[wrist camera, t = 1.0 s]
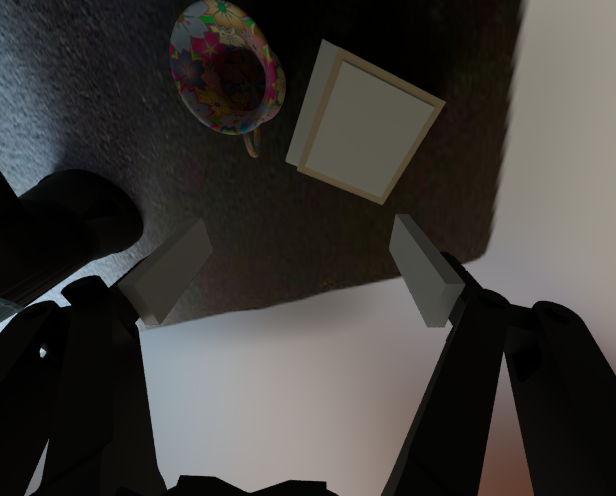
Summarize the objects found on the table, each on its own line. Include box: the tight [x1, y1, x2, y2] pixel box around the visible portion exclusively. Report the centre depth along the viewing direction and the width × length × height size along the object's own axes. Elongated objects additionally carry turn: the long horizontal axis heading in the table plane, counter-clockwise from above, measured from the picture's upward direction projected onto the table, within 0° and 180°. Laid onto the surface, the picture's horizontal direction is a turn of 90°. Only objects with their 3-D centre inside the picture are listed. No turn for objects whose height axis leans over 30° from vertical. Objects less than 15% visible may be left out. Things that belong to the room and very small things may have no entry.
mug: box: [170, 0, 286, 157], centre depth 24 cm, size 12×9×11 cm
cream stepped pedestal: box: [286, 39, 446, 205], centre depth 27 cm, size 16×14×7 cm
